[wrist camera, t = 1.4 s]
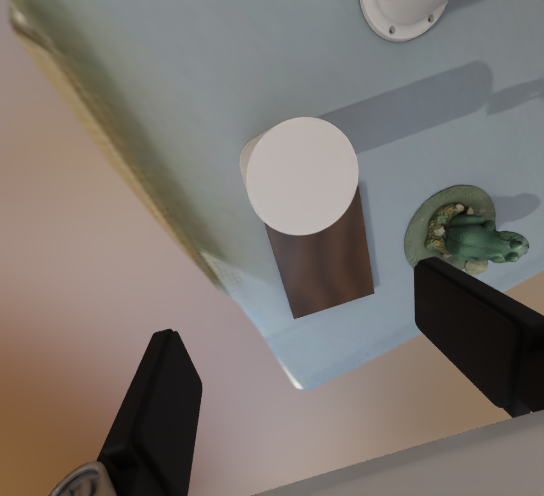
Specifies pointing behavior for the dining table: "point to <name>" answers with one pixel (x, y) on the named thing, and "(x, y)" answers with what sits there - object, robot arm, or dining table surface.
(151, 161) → the dining table surface
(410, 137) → the dining table surface
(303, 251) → the board
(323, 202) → the cylindrical container
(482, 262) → the frog figurine
